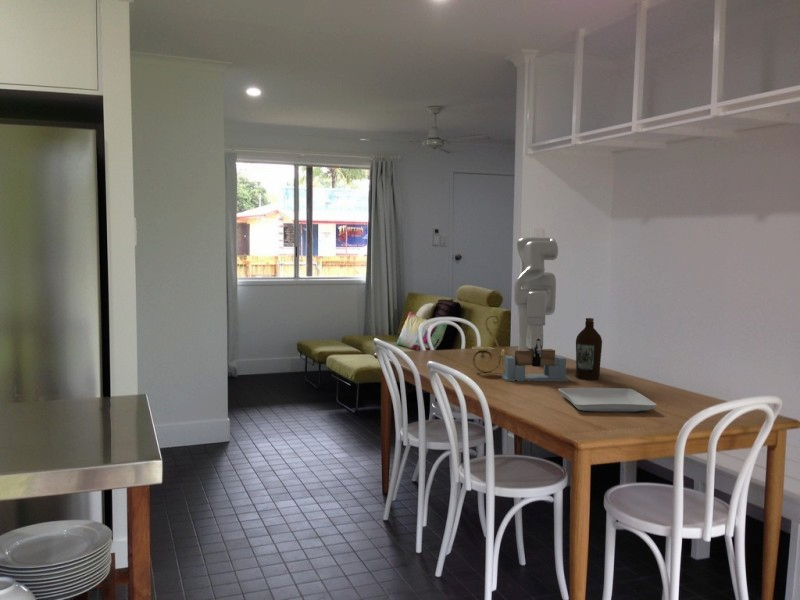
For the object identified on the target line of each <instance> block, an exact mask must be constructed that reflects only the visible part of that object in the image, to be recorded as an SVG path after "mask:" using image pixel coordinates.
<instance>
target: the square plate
mask: <svg viewBox="0 0 800 600" xmlns="http://www.w3.org/2000/svg"><path fill="white" fill-rule="evenodd" d="M557 390H558V391H559V393H560V394H561V396H562V397H564V398H565V399H567V401H569V402H570V403H571V404H572V405H573V406H574V407H575V408H576V409H577V410H579V411H585V412H610V413H611V412H618V413H619V412H620V413H621V412H622V413H623V412H624V413H625V412H629V413H630V412H631V413H634V412H635V413H636V412H643V411H650V410H652V409H654V408H655V407H657V406H658V404H657V403H655V402H654V401H652V400H651V399H650V398H648V397H647V396H645V395H644V394H641V393H640V392H638V391H636V390H635V389H633V388H621V387H620V388H619V387H618V388H617V387H571V388H570V387H567V388H565V387H563V388H562V387H560V388H557Z"/></svg>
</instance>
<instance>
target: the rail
mask: <svg viewBox="0 0 800 600" xmlns="http://www.w3.org/2000/svg"><path fill="white" fill-rule="evenodd" d="M535 352H536V351H535ZM555 356H556V350H555V349H553V348H542V349H541V361H540V366H544V365H555ZM514 358H515V365H518V366H525V367H526V366H532V359H533V349H532V350H531V349H523V350H518V349H514Z"/></svg>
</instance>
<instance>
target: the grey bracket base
mask: <svg viewBox="0 0 800 600" xmlns="http://www.w3.org/2000/svg"><path fill="white" fill-rule="evenodd" d="M566 371H567V358H566V357H564V356H562V355H555V365H543V373H538V374H537V373H526V365H525V366H518V365H515V356H512V355H505V356H504V365H503V373H501V374H500V377H501V378H502V380H504V379H505V380H506V381H505V380H504V381H505V382H525V381H524V380H528V381H527V382H532V381H531V380H535V381H534V382H570V378H568V377H567V376H566V375H567V373H566ZM515 380H517V381H515Z"/></svg>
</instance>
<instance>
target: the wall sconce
mask: <svg viewBox="0 0 800 600" xmlns="http://www.w3.org/2000/svg"><path fill="white" fill-rule="evenodd" d="M490 318H495V319H496V321H495V320H493V321H492V323H493V324H494V325H497V324H498V323H500V318H499V317H498V316H497V315H494V314H490V315H488V316H487V317H486V319H485V320H484V326H485V329H486V331H487V332H488V334H489V335H490V337H491V338H492V339H493V341H494V342H495V345H496V348H497V351H498V355H497V356H496V357H497V359H498V362H497V364H496V365H495V366H494V368H491V369H488V370H486V369H485V370H484V369H481V368H479V367H478V366H477V365H476V357H477V355H478V354H481V355H480V359H481V360H482V359H484V362H486V363H489V362H491V361H492V360H493V355H492V353H491V352H489V351H493V350H494V349H495V347H491V346H482V345H481V346H472V347H471V349H472V350H473V351H476V352H475V353H474V354H473V356H472V365H473V367H474V368H475V369H476V371H478V372H480V373H484V372H488V373H492V372H494V371H496V370H497V369H498V368H499V366H500V364H501V365H503V366H504V356H506V351H505V348H502V349H501V348H500V344H499V342H498V340H497V338H496V336H494V334H493V332H492V331H491V329H490V328H489V327H488V321H489V319H490ZM484 354H487V355H489V358H488V359H485V357H486V356H485V355H484Z"/></svg>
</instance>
